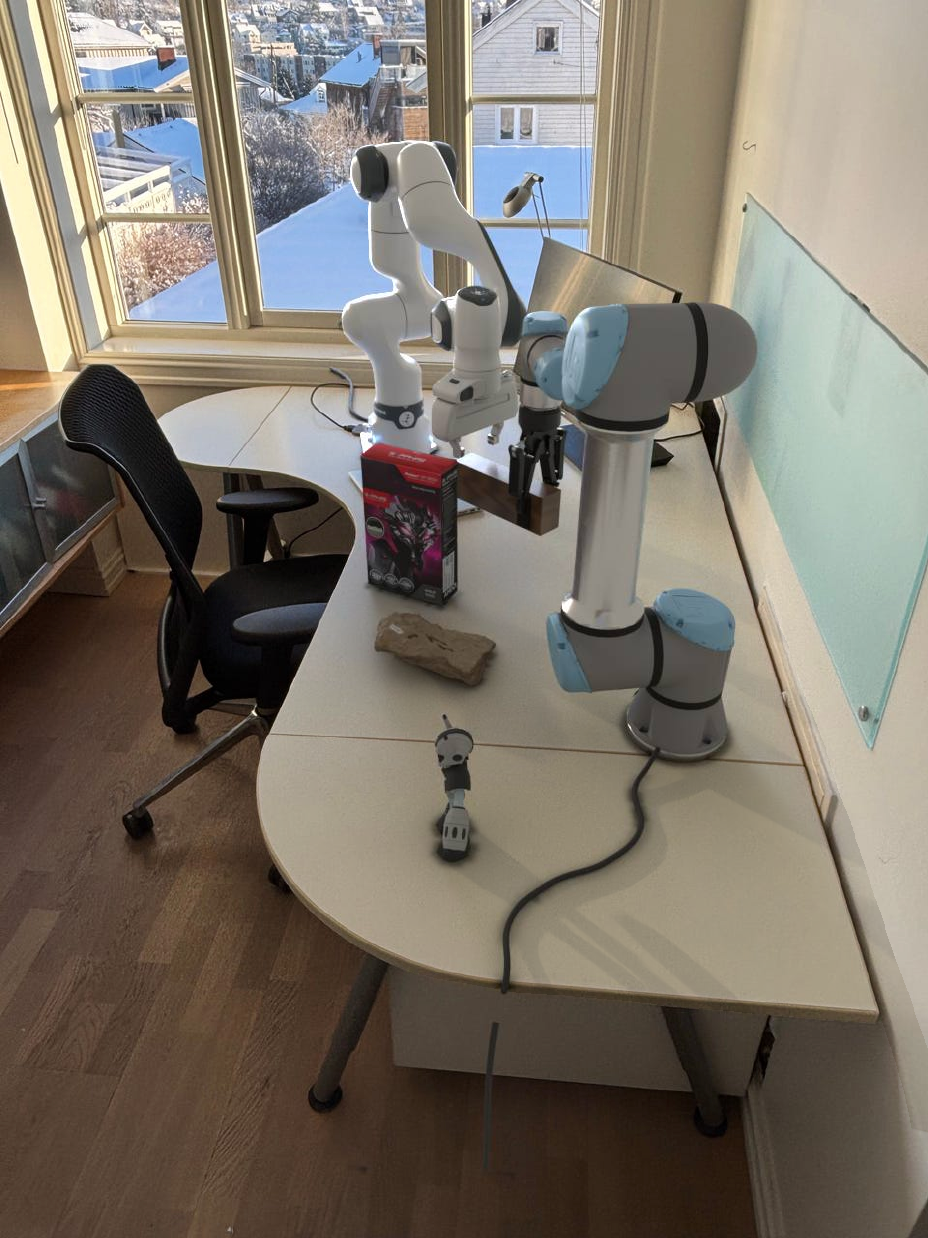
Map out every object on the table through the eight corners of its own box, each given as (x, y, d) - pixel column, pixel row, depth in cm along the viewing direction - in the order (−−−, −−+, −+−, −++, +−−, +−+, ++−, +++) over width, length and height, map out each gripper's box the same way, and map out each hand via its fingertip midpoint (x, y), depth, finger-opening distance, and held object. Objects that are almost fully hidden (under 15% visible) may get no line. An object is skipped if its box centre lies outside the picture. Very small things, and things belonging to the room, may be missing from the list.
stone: (350, 659, 152) (357, 626, 150) (382, 628, 166) (388, 598, 163) (469, 701, 149) (478, 669, 146) (492, 666, 162) (500, 636, 160)
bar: (558, 527, 174) (561, 489, 170) (540, 536, 171) (542, 498, 167) (470, 487, 188) (471, 452, 183) (452, 495, 185) (452, 459, 180)
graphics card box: (364, 585, 178) (356, 453, 162) (384, 569, 183) (377, 440, 167) (442, 608, 171) (441, 473, 156) (460, 591, 176) (461, 458, 161)
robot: (476, 896, 116) (478, 779, 105) (437, 897, 116) (436, 781, 105) (467, 786, 132) (469, 675, 121) (434, 787, 132) (432, 676, 121)
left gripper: (502, 363, 179) (501, 431, 186) (425, 388, 167) (427, 460, 174) (527, 371, 175) (524, 440, 182) (449, 397, 163) (450, 469, 170)
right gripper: (557, 386, 169) (550, 500, 182) (488, 411, 158) (486, 531, 171) (590, 396, 165) (579, 513, 178) (521, 423, 154) (515, 545, 167)
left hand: (476, 450), depth 178 cm, fingers open, 8 cm apart
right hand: (533, 521), depth 174 cm, fingers closed on bar, 5 cm apart
